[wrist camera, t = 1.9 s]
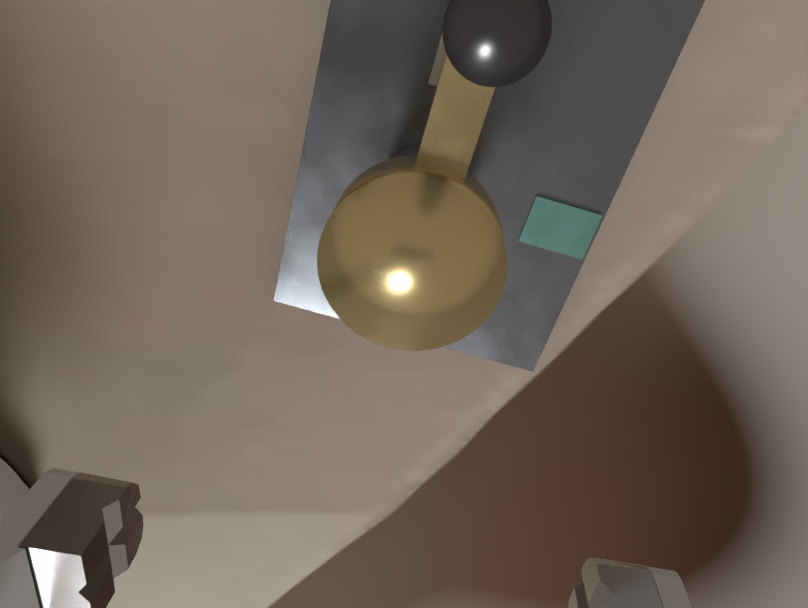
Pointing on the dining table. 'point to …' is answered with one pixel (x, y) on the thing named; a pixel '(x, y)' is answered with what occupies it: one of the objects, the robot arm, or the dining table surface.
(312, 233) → the labelled display base
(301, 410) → the dining table surface
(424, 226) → the brass crank knob
